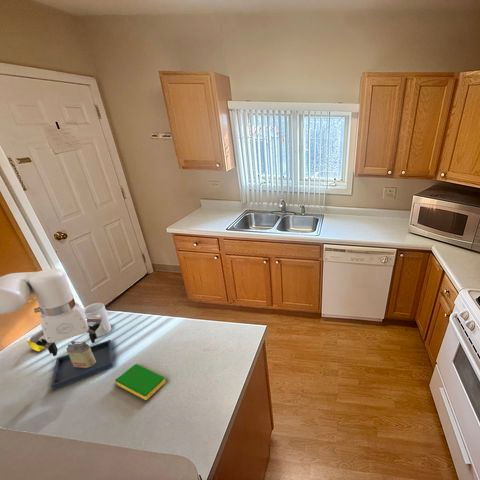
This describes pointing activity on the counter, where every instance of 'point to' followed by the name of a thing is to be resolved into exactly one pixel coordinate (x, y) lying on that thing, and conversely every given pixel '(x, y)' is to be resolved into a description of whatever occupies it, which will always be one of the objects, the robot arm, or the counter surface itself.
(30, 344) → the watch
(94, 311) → the mug
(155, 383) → the dish sponge
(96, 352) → the tray
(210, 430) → the counter surface
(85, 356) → the lighter
